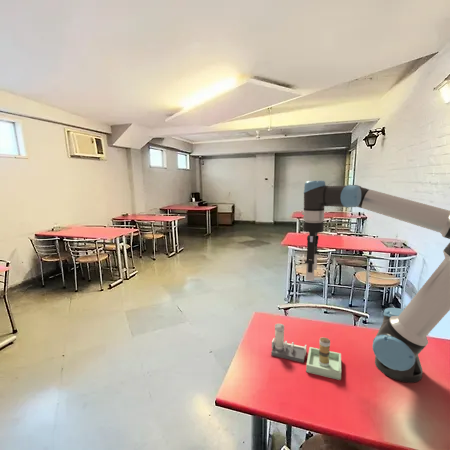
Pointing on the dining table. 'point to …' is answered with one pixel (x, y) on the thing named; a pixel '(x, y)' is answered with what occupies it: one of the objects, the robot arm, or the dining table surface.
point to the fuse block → (290, 351)
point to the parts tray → (330, 371)
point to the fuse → (279, 337)
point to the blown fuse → (324, 352)
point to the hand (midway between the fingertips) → (311, 274)
